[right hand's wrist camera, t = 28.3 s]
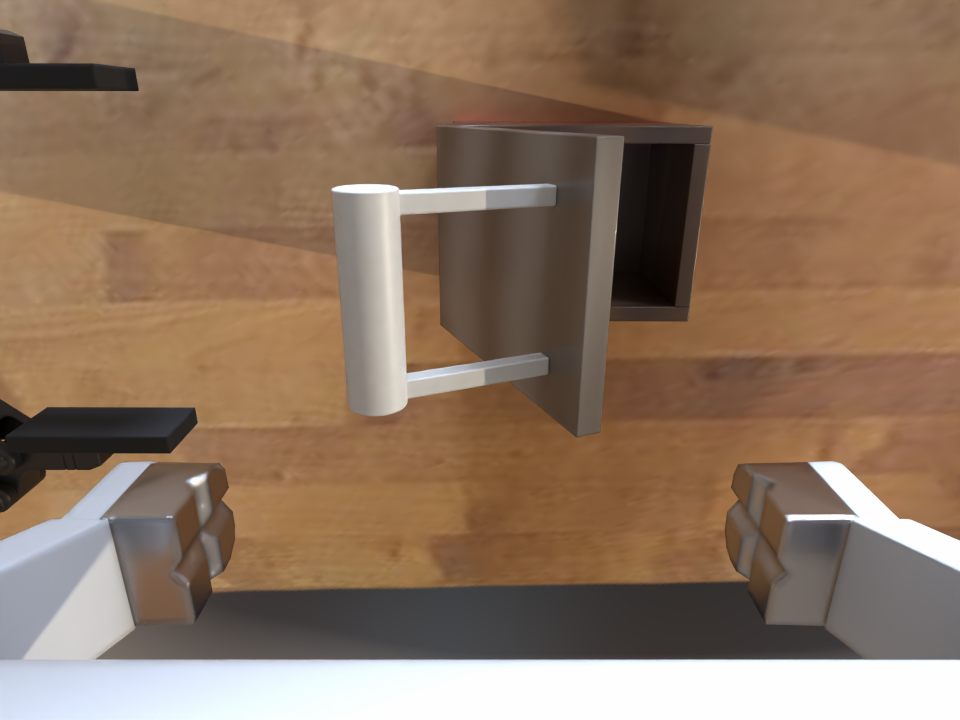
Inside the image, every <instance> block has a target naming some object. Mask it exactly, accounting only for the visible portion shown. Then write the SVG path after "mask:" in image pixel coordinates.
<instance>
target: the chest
mask: <svg viewBox="0 0 960 720" xmlns="http://www.w3.org/2000/svg"><path fill="white" fill-rule="evenodd" d="M449 125H458V126H474V127H490V128H505V129H521V130H537V131H553V132H569V133H584V134H600V135H616V136H623V137H624V146H623V159H622V171H621V183H620V195H619V208H618V220H617V232H616V244H615V257H614V269H613V281H612V293H611V305H610V318H609V321H688V317H689V309H690V302H691V294H692V286H693V279H694V271H695V263H696V255H697V248H698V240H699V232H700V224H701V216H702V209H703V201H704V193H705V185H706V178H707V170H708V162H709V154H710V147H711V145H710V143H711V138H712V130H713V127H712V126H700V125H687V124H673V123H652V122H453V123H451V124H449Z"/></svg>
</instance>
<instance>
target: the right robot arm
mask: <svg viewBox="0 0 960 720" xmlns="http://www.w3.org/2000/svg"><path fill="white" fill-rule="evenodd" d="M228 488H229V486H228V481H227V476H226V472H225V469H224V468H223V467H222V466H221V464H220V463H185V462H157V463H156V462H154V461H150V462H124V463H119V464H118V465H117V466H116V467H114V468H113V469H112V470H111V471H110V472H109V473H108V474H107V475H106V476H105V477H104V478H103V479H102V480H101V481H100V482H99V483H98V484H97V485H96V486H95V487H94V488H93V489H92V490H91V491H90V492H89V493H88V494H87V495H86V496H84V497H83V498H82V499H81V500H80V501H79V502H78V503H77V504H76V505H75V506H74V507H73V508H72V509H71V510H70V511H69V512H68V513H67V514H66V515H65V516H64V517H63V518H62V519H50V520H48V521H45V522H43V523H41V524H38V525H36V526H34V527H31V528H29V529H27V530H24V531H22V532H20V533H17V534H15V535H13V536H10V537H8V538H6V539H3V540H1V541H0V720H960V541H959V540H957V539H954V538H952V537H950V536H947V535H945V534H943V533H940V532H938V531H936V530H933V529H931V528H929V527H926V526H924V525H922V524H919V523H917V522H915V521H912V520H910V519H898V518H897V517H896V516H895V515H894V514H893V513H892V512H891V511H890V510H889V509H888V508H887V507H886V506H885V505H884V504H883V503H882V502H881V501H880V500H879V499H878V498H877V497H876V496H875V495H874V494H873V493H872V492H870V491H869V490H868V489H867V488H866V487H865V486H864V485H863V484H862V483H861V482H860V481H859V480H858V479H857V478H856V477H855V476H854V475H853V474H852V473H851V472H850V471H849V470H848V469H847V468H846V467H845V466H844V465H843V464H840V463H837V462H835V461H827V462H793V463H753V464H738V466H737V468H736V470H735V472H734V475H733V480H732V486H731V488H732V490H733V491H734V493H735V494H736V496H737V497H738V499H739V500H738V501H737V502H736V503H735V504H734V505H733V506H732V507H731V508H730V509H729V510H728V511H727V517H726V525H725V537H726V548H727V551H728V554H729V557H730V560H731V562H732V564H733V566H734V568H735V570H736V571H737V572H738V573H740V574H741V575H743V576H744V577H746V578H748V579H749V580H750V581H749V587H748V593H749V595H750V597H751V599H752V600H753V602H754V604H755V606H756V607H757V609H758V611H759V613H760V614H761V616H762V618H763V620H764V622H765V623H766V624H782V625H818V626H825V629H826V630H828V631H829V632H830V633H832V634H833V635H834V636H835V637H837V638H838V639H839V640H841V641H842V642H843V643H844V644H846V645H847V646H848V647H850V648H851V649H852V650H854V651H855V652H856V653H858V654H859V655H860V656H861V657H863V658H864V659H865V660H95V659H96V658H97V657H99V656H100V655H101V654H103V653H104V652H105V651H107V650H108V649H109V648H111V647H112V646H113V645H114V644H116V643H117V642H118V641H120V640H121V639H122V638H124V637H125V636H126V635H127V634H129V633H130V632H131V631H133V630H134V629H135V626H142V625H178V624H195V622H196V620H197V618H198V616H199V615H200V613H201V611H202V609H203V607H204V606H205V604H206V602H207V600H208V598H209V597H210V595H211V593H212V586H211V581H210V580H211V579H212V578H214V577H216V576H217V575H219V574H220V573H222V572H223V571H224V570H225V568H226V566H227V564H228V562H229V560H230V558H231V554H232V550H233V545H234V541H235V523H234V516H233V511H232V510H231V509H230V508H229V507H228V506H227V505H226V504H225V503H224V502H223V501H222V500H221V499H222V497H223V496H224V494H225V493H226V491H227V490H228Z"/></svg>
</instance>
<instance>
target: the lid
mask: <svg viewBox="0 0 960 720" xmlns="http://www.w3.org/2000/svg"><path fill="white" fill-rule="evenodd" d="M623 146H624V137H623V136H616V135H600V134H584V133H569V132H553V131H537V130H521V129H505V128H490V127H474V126H458V125H438V126H437V171H438V188H435V189H413V190H399V188H398V187H396V186H391V185H380V184H357V185H344V186H338V187H334V188H332V203H333V216H334V229H335V241H336V254H337V267H338V280H339V293H340V306H341V319H342V332H343V344H344V357H345V370H346V383H347V396H348V406H349V408H350V409H351V410H352V411H353V412H355V413H357V414H360V415H365V416H384V415H389V414H393V413H396V412H398V411H400V410H402V409H403V408H404V407H405V406H406V405H407V402H408V398H414V397H420V396H426V395H432V394H437V393H443V392H449V391H455V390H461V389H467V388H472V387H478V386H484V385H490V384H496V383H501V382H507V381H509V382H510V383H511V384H512V385H514V386H515V387H516V388H517V389H519V390H520V391H521V392H522V393H523V394H525V395H526V396H527V397H528V398H529V399H531V400H532V401H533V402H534V403H535V404H537V405H538V406H539V407H540V408H541V409H543V410H544V411H545V412H546V413H547V414H549V415H550V416H551V417H552V418H554V419H555V420H556V421H557V422H558V423H560V424H561V425H562V426H563V427H564V428H566V429H567V430H568V431H569V432H570V433H572V434H573V435H574V436H575V437H581V436H585V435H590V434H595V433H599V432H600V428H601V416H602V403H603V391H604V379H605V367H606V354H607V342H608V330H609V318H610V305H611V293H612V281H613V269H614V257H615V244H616V232H617V220H618V208H619V195H620V183H621V171H622V159H623ZM428 213H438V224H439V276H440V325H441V326H442V327H444V328H445V329H446V330H447V331H449V332H450V333H451V334H452V335H453V336H455V337H456V338H457V339H458V340H459V341H461V342H462V343H463V344H464V345H465V346H467V347H468V348H469V349H470V350H471V351H473V352H474V353H475V354H476V355H477V356H479V357H480V358H481V359H482V360H484V361H483V362H477V363H470V364H464V365H457V366H451V367H445V368H438V369H432V370H425V371H419V372H413V373H406V348H405V323H404V298H403V274H402V249H401V224H400V215H411V214H428Z"/></svg>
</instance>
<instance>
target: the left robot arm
mask: <svg viewBox="0 0 960 720" xmlns="http://www.w3.org/2000/svg"><path fill="white" fill-rule="evenodd" d="M0 91H139V89H138V84H137V78H136V73H135V68H126V67H118V66H109V65H101V64H42V63H29V59H28V55H27V50H26V46H25V42H24V37H22V36H19V35H17V34H14V33H12V32H10V31H6V30H0ZM197 423H198V422H197V417H196V411H195V408H99V407H47V408H46V409H44V410H43V411H41V412H40V413H38V414H37V415H35V416H34V417H33V418H29V417H28V416H26V415H25V414H23V413H21V412H20V411H18V410H17V409H15V408H13V407H12V406H10V405H9V404H7V403H5V402H4V401H2V400H1V399H0V512H4V511H6V510H8V509H9V508H10V507H11V506H12V505H13V504H15V503H16V502H17V501H18V500H19V499H21V498H22V497H23V496H24V495H25V494H26V493H28V492H29V491H30V490H31V489H32V488H34V487H35V486H36V485H37V484H38V483H39V482H41V481H42V480H43V479H44V477H45V476H46V471H45V470H65V469H67V470H75V469H77V470H91V469H93V468H96V467H98V466H101V465H102V464H103V463H104V462H105V461H106V460H107V459H108V458H109V457H110V456H111V455H113V454H114V453H171V452H172V451H173V450H174V449H175V447H176V446H177V445H178V444H179V443H180V442H181V441H182V440H183V439H184V437H185V436H186V435H187V434H188V433H189V432H190V431H191V430H192V429H193V428H194V426H195V425H196V424H197ZM2 439H5V441H4V442H3V441H1V440H2Z"/></svg>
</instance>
